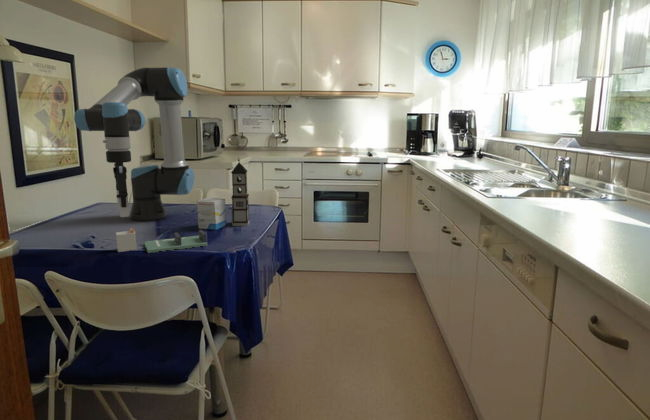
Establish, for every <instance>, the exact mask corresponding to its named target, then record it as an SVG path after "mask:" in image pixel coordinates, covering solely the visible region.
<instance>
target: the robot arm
mask: <svg viewBox="0 0 650 420" xmlns="http://www.w3.org/2000/svg"><path fill="white" fill-rule="evenodd" d="M188 88H189V86H188V81H187V78H186V76H185V74H184V72H183V70H182V69H181V68H177V67H170V66H169V67H141V68H140V67H139V68H137V69H134V70H132V71H131V72H128V73H126V74H125V75H124V76H122V77H121V78H120V79H119V80H118V82H117V85H116V86H114V87H113V88H112V89H111V90H110V91H108V92H107V93H106V94H105V95H104V96H102V97H101V98H100V99H99V100H98V101H97V102H96V103H94V104H93V105H92V106H90V107H89V108H79V109H77V110H75V113H74V116H73V119H74V124H75V127H76V128H77V129H78V130H79V131H87V132H104V140H102V143H103V144H105V150H106V151H105V161H106V162H107V163H109V164H110V163H111V164H113V166H114V167H112V171H113V175H114V180H115V189H116V201H117V210H118V211H119V218H125V217H126V218H129V217H130V220H132V221H136V222H138V221H139V222H143V221H144V222H145V221H155V220H161V219H164V218H166V217H167V211H166V208H165V207H164V204H163V201H162V197H161V196H162V195H165V196H166V195H169V196H170V195H171V196H173V195H174V196H176V195H177V196H184V195H189V194H190V193H191V191H192V190H193V187H194V183H195V172H194V170H193V168H190V166H189V163H188V162H187V161H186V158H185V149H184V148H185V147H184V136H183V124H182V112H181V111H182V110H181V104H182V103H183V102H184V97H187V95H188V90H189V89H188ZM141 97H153V98H154V102H155V103H156V104H157V105H158V108H159V109H158V110H159V120H160V121H159V122H160V130H161V143H162V151H163V152H162V153H163V162H162V163H161V164H160V166H159V165H158V164H151V165H144V166H137V167H134V168H133V169H131V171H130V180H131V181H130V182H131V191H132V206H131V209H130V207H129V199H128V197H129V193H128V188H127V187H128V186H127V178H128V177H127V173H128V171H127V170H128V169H127V167H126V166H125V165H124V163H129V162H131V161H132V152H131V150H130V149H131V139H130V138H131V137H130V132H137V131H141V130H142V129H143V128H144V127H145V125H146V117H145V114H144V113H143V112H142V111H140V110H138V109H134V108H128V105H129V104H130V103H131V102H132V101H135V100H137V99H139V98H141ZM129 209H130V211H129Z"/></svg>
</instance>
